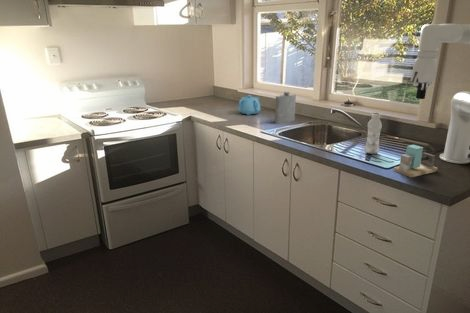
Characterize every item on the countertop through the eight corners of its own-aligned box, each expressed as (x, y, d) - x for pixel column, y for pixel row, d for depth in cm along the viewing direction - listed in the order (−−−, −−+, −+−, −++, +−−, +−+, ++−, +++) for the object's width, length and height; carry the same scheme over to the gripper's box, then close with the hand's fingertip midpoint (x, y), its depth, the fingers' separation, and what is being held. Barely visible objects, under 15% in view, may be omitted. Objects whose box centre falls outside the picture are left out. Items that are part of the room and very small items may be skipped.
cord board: (418, 164, 165) (421, 147, 163) (437, 171, 158) (440, 153, 155) (393, 170, 159) (395, 153, 156) (410, 177, 151) (413, 159, 149)
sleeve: (410, 163, 159) (413, 144, 156) (419, 166, 155) (423, 147, 152) (404, 165, 158) (407, 145, 155) (413, 168, 154) (416, 148, 151)
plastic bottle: (373, 156, 176) (378, 115, 170) (361, 153, 182) (366, 113, 175) (381, 154, 180) (386, 113, 174) (369, 150, 185) (374, 111, 179)
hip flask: (292, 119, 250) (293, 90, 243) (296, 120, 247) (297, 91, 240) (274, 122, 242) (274, 92, 235) (277, 124, 239) (279, 93, 232)
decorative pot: (235, 115, 264) (235, 96, 260) (241, 110, 279) (241, 92, 274) (257, 116, 260) (258, 97, 256) (262, 111, 275) (262, 93, 270)
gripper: (431, 54, 161) (424, 95, 167) (407, 55, 155) (401, 98, 161) (447, 55, 155) (439, 98, 161) (422, 56, 149) (415, 101, 155)
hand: (420, 98), depth 161 cm, fingers closed
